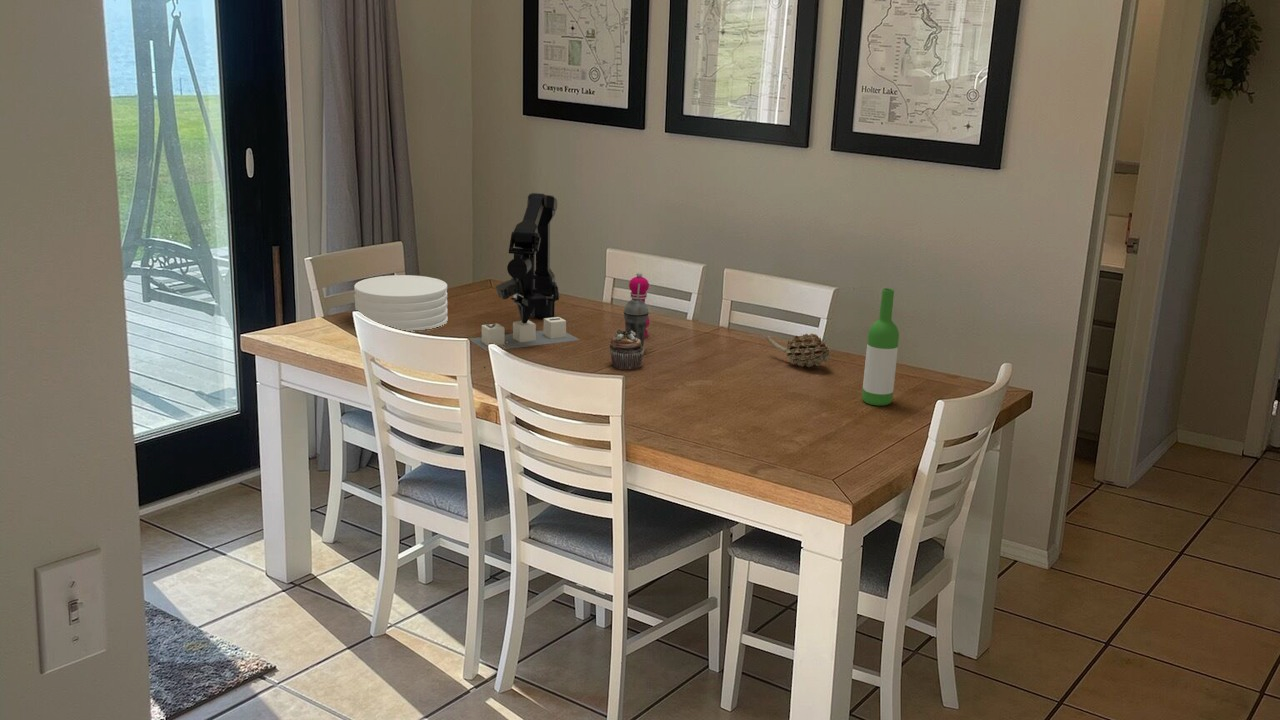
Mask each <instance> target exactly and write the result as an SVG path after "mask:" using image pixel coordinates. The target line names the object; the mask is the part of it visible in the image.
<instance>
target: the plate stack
mask: <svg viewBox="0 0 1280 720" xmlns="http://www.w3.org/2000/svg"><path fill="white" fill-rule="evenodd" d="M353 287H354V300H355V302H354V307H355V310H358V311H360V312H361V313H362V314H363V315H364V316H366V317H368V318H370V319H372V320H374V321H376V322H379V323H381V324H384V325H387V326H391V327H394V328H397V329H401V330H406V331H411V332H410V333H416V332H415V331H413V330H425V329H432V328H436V327H439V326H441V327H443V326H445V325H446V324H447V323H448V322H447V321H449V318H448V314H449V313H448V305H449V304H448V292H447V291H448V283H446V281H444V280H441V279H439V278H434V277H432V276H431V277H430V276H424V275H411V274H405V275H404V274H402V275H401V274H396V275H381V276H374V277H370V278H364V279H362V280H359V281H357V282H356V283H355V284H354V286H353ZM355 310H354V311H355ZM444 324H445V325H444ZM442 325H443V326H442ZM439 328H440V327H439ZM436 329H437V328H436ZM432 330H433V329H432Z"/></svg>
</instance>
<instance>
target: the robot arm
mask: <svg viewBox="0 0 1280 720" xmlns="http://www.w3.org/2000/svg"><path fill="white" fill-rule="evenodd" d="M557 209H558V200H557V198H556V197H555V196H554V195H551V194H550V195H549V194H545V193H538V192H531V193H529V194H528V195H527V203H526V209H525V212H524V216H523V218H522V221H521V222H519V223H517V224H516V225H515V226H514V229H513V231H512V232H511V236H510V241H509V242H510V243H509V246H508V247H509V248H508V254H509V255H510V254H512V255H513V258H512V259H510V261H509V262H508V264H507V266H506V269H507V273H508V275H509V276H510V277H511V279H509V280H506V281H504V282H501V283H498V284H497V285H496V286H495V289H496V291H497V292H496V293H497V296H498V297H499V298H501V299H503V300H506V299H509V298H510V297H511V298H510V299H511V301H513V302H514V303H515V304H516V307H517V309H518V312H519V315H520V316H519V317H520V321H522V323H527V321H528V320H530V317H532V319H535V320H544V318H553V317H556V316H555V302H556V301H559V300H560V292H559V287H558V284H557V282H556V276H555V273H554V272H553V271H552V269H551V222H552V221H553V218H555V217H554V216H555V215H556V212H557ZM512 296H513V297H512Z"/></svg>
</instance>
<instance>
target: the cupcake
mask: <svg viewBox="0 0 1280 720" xmlns="http://www.w3.org/2000/svg"><path fill="white" fill-rule="evenodd" d="M635 335H636V334H635V332H634V330H629V331H628V332H627V331H626V330H624V331H623V330H620V329H618V330H616V333H615V336H613V337H612V338H611V340H610V345H609V353H610V359H611V363H612V367H614V368H616V369H619V370H625V369H632V370H637V369H639V367H640V368H641V366H642V363H643V357H644V353H645V348H644V346H643V347H642V345H641V341H640V339H638V338H636V337H635ZM636 368H637V369H636Z"/></svg>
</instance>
